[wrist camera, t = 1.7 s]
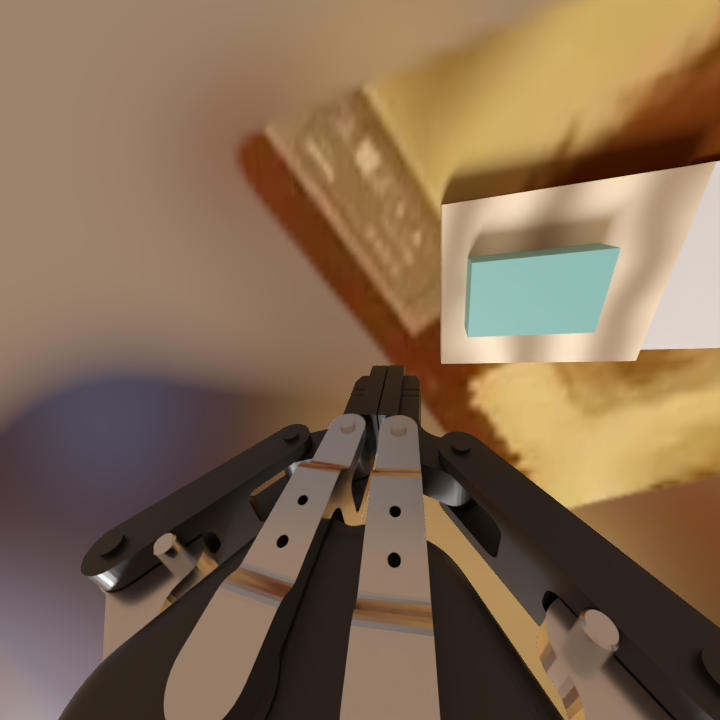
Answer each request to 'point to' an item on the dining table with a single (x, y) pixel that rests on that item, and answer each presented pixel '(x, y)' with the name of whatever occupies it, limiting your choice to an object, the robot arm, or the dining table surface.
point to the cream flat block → (571, 228)
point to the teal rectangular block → (538, 290)
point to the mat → (693, 283)
